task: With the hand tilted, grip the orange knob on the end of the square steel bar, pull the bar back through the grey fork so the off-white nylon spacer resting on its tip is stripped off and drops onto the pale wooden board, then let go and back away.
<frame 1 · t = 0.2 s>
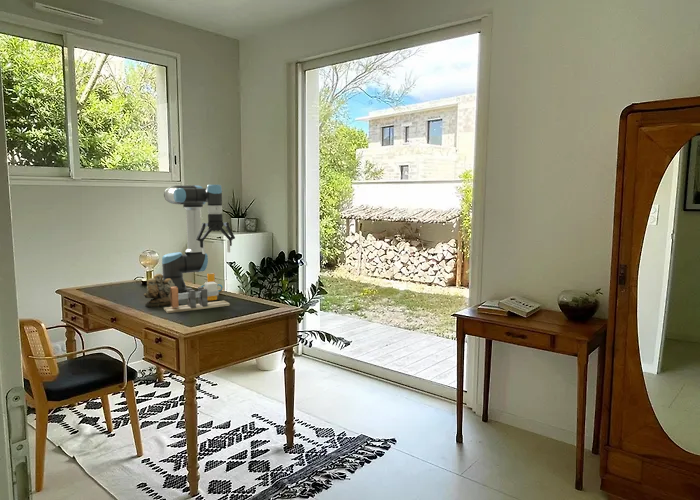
hand: (216, 253, 259), 28 cm above the table, tool pointing down, fingers open, 13 cm apart
spacer: (211, 290, 256), point 8 cm above the table, touching shaft
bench: (195, 307, 253), on the table
brown rough lump: (161, 305, 260), on the table
shaft: (195, 294, 252), point 7 cm above the table, slide at 0.0 cm, touching spacer
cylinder: (211, 299, 272), on the table
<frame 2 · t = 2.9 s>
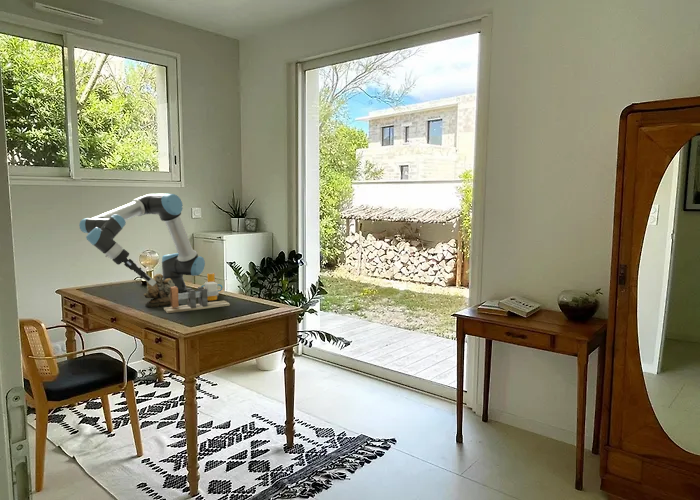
hand: (151, 282, 240), 16 cm above the table, tool tilted 45°, fingers open, 13 cm apart
nothing on the table moved.
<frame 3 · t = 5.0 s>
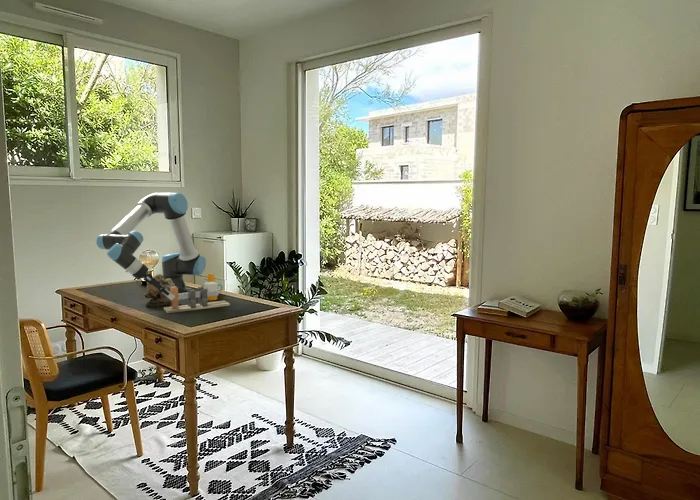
hand: (170, 295, 245), 8 cm above the table, tool tilted 45°, fingers open, 13 cm apart
nothing on the table moved.
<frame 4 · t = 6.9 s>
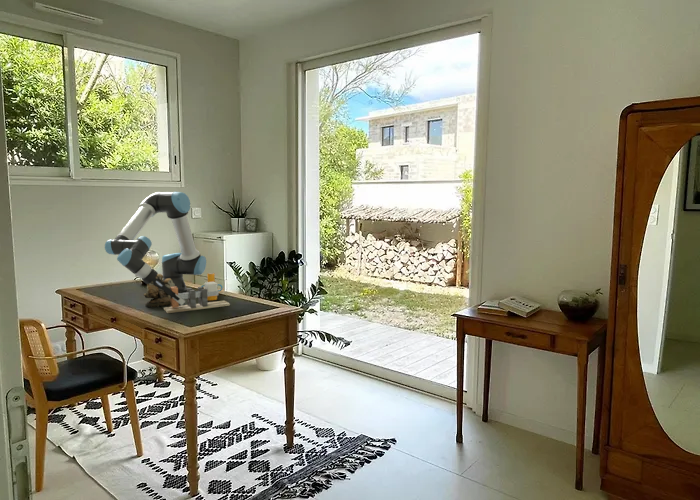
hand: (182, 302, 249), 4 cm above the table, tool tilted 45°, fingers closed on shaft, 4 cm apart
shaft: (195, 294, 252), point 7 cm above the table, slide at 0.0 cm, touching gripper, spacer
everything else where it was.
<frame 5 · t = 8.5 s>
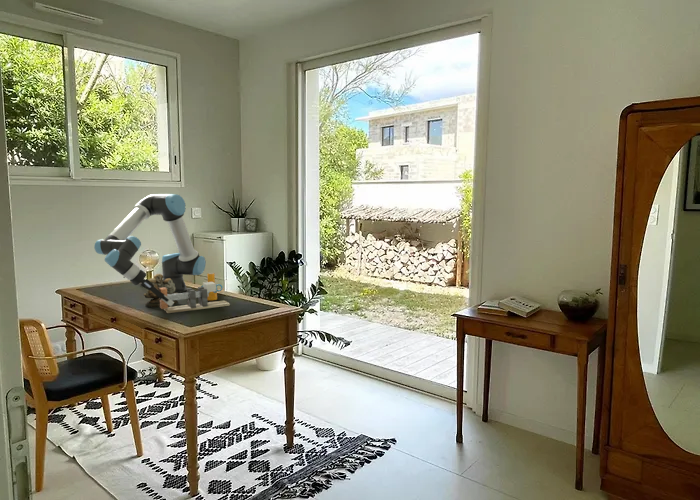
hand: (171, 303, 246), 4 cm above the table, tool tilted 45°, fingers closed on shaft, 4 cm apart
shaft: (184, 295, 249), point 7 cm above the table, slide at 5.3 cm, touching gripper, spacer
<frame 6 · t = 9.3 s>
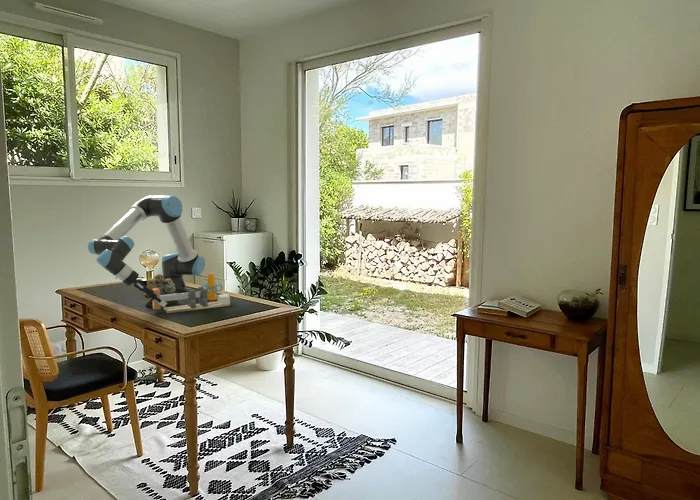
hand: (164, 304, 244), 4 cm above the table, tool tilted 45°, fingers closed on shaft, 4 cm apart
spacer: (223, 295, 259), point 5 cm above the table, tilted 180°, touching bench
shaft: (177, 296, 248), point 7 cm above the table, slide at 8.7 cm, touching gripper
everything else where it was.
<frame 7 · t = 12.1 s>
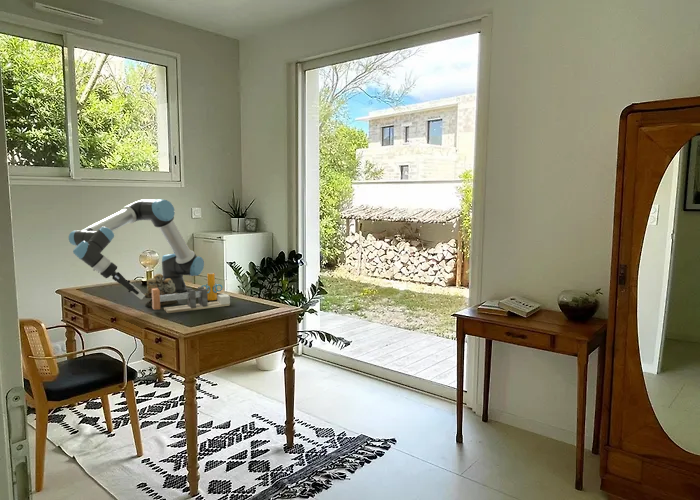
hand: (140, 295, 238), 10 cm above the table, tool tilted 45°, fingers open, 13 cm apart
shaft: (177, 296, 247), point 7 cm above the table, slide at 8.9 cm
everything else where it was.
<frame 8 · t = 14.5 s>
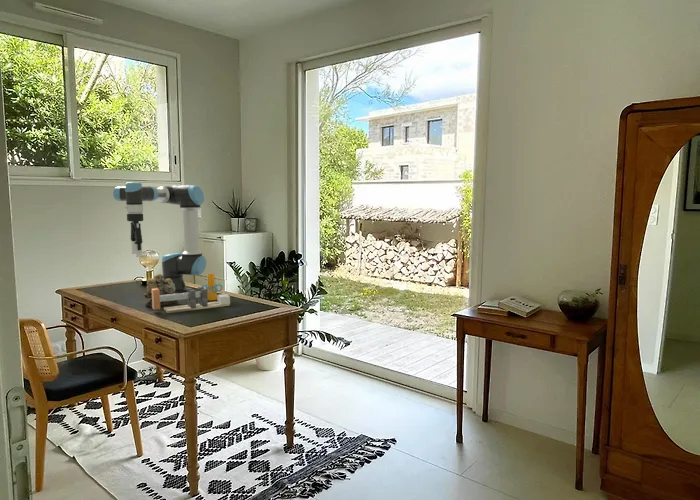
hand: (137, 255, 243), 29 cm above the table, tool pointing down, fingers open, 13 cm apart
nothing on the table moved.
at the end: shaft slide at 8.9 cm; spacer point 5.0 cm above the table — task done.
